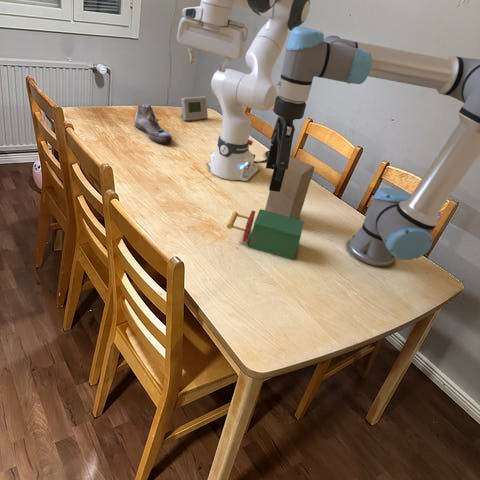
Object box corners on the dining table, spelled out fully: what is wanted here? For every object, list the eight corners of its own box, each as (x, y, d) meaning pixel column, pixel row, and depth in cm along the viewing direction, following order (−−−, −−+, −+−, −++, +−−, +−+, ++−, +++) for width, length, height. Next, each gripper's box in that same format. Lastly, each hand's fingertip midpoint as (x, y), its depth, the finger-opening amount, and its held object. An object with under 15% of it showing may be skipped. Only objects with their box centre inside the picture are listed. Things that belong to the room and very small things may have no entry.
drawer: (224, 236, 137) (228, 217, 133) (230, 223, 144) (234, 205, 140) (283, 253, 135) (289, 234, 132) (286, 238, 143) (292, 221, 139)
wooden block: (287, 226, 151) (303, 173, 140) (262, 215, 155) (276, 162, 144) (299, 217, 159) (315, 166, 148) (275, 206, 162) (289, 155, 152)
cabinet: (248, 246, 136) (254, 223, 131) (254, 231, 144) (259, 208, 140) (293, 259, 135) (300, 236, 130) (296, 243, 143) (303, 220, 139)
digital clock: (183, 121, 220) (185, 100, 214) (174, 115, 226) (177, 94, 220) (210, 121, 229) (214, 100, 223) (202, 115, 235) (205, 95, 229)
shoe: (175, 145, 192) (178, 118, 185) (151, 146, 186) (153, 118, 180) (154, 124, 209) (157, 98, 202) (132, 124, 203) (133, 97, 197)
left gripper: (253, 24, 123) (243, 75, 130) (187, 7, 127) (181, 57, 135) (245, 25, 118) (235, 78, 125) (177, 7, 122) (171, 59, 129)
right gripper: (272, 83, 115) (256, 158, 127) (280, 111, 94) (260, 198, 106) (300, 88, 116) (281, 162, 127) (314, 117, 95) (291, 203, 106)
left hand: (207, 67), depth 130 cm, fingers open, 8 cm apart
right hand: (272, 179), depth 117 cm, fingers open, 13 cm apart
